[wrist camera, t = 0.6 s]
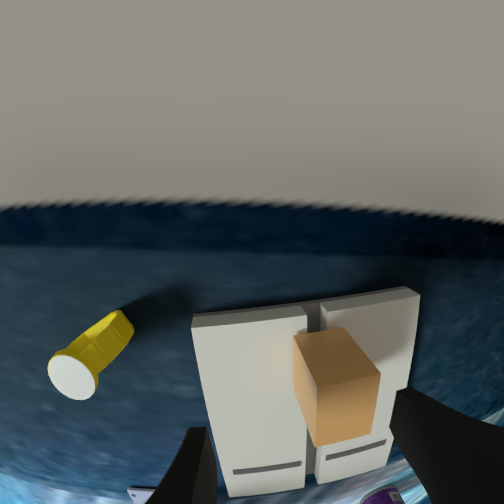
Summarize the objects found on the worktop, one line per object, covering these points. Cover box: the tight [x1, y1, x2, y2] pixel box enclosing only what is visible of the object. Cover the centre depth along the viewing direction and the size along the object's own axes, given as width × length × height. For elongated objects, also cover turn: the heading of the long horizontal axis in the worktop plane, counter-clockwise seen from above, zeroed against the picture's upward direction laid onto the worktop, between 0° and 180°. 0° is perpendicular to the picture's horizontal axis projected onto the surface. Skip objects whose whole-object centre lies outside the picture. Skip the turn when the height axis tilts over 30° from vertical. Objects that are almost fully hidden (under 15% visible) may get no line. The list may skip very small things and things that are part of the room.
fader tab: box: [293, 327, 381, 447], centre depth 16 cm, size 4×3×7 cm
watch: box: [48, 310, 134, 400], centre depth 16 cm, size 6×3×6 cm, turn 123°
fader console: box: [191, 286, 420, 497], centre depth 20 cm, size 17×14×2 cm
